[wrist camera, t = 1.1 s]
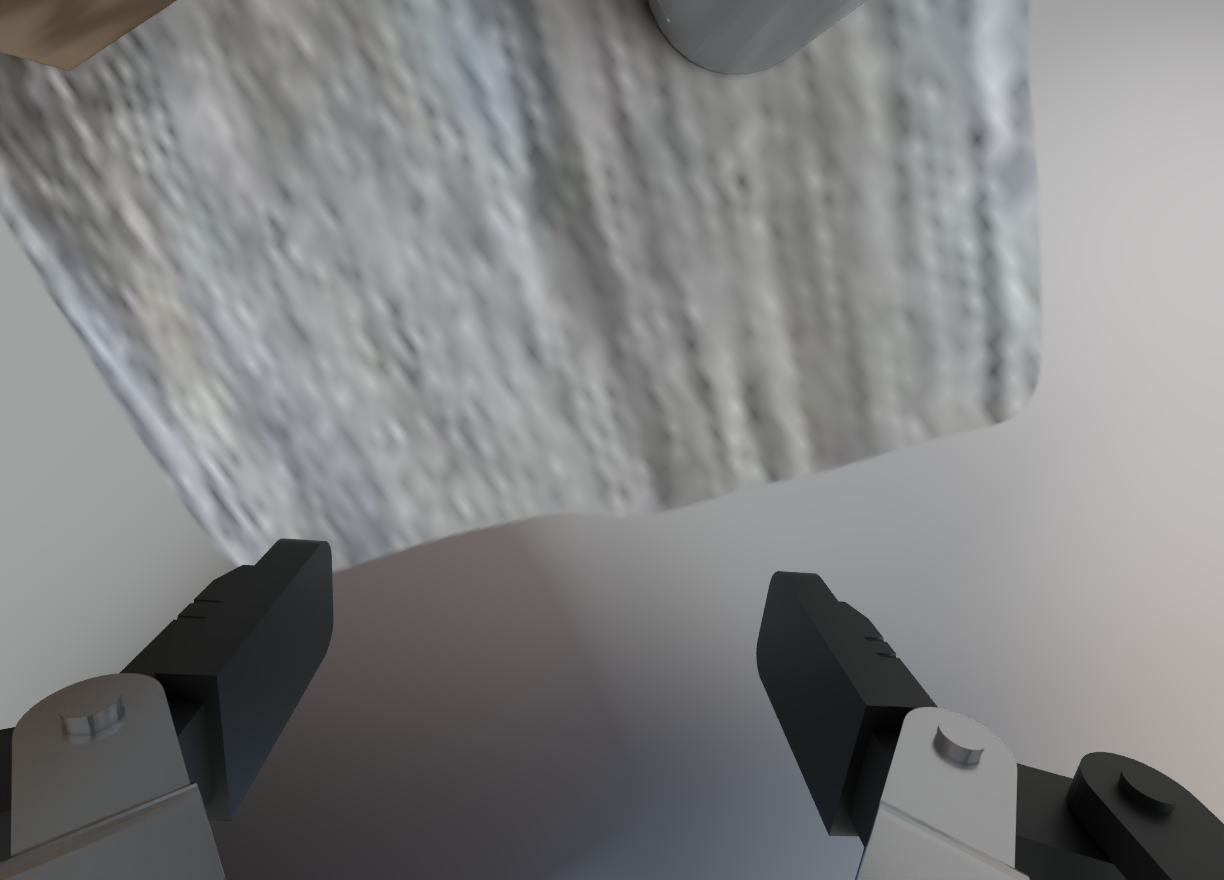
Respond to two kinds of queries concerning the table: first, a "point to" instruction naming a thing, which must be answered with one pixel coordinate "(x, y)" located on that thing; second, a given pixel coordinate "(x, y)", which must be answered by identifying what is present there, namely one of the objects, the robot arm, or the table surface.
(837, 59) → the table surface
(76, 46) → the wooden block
